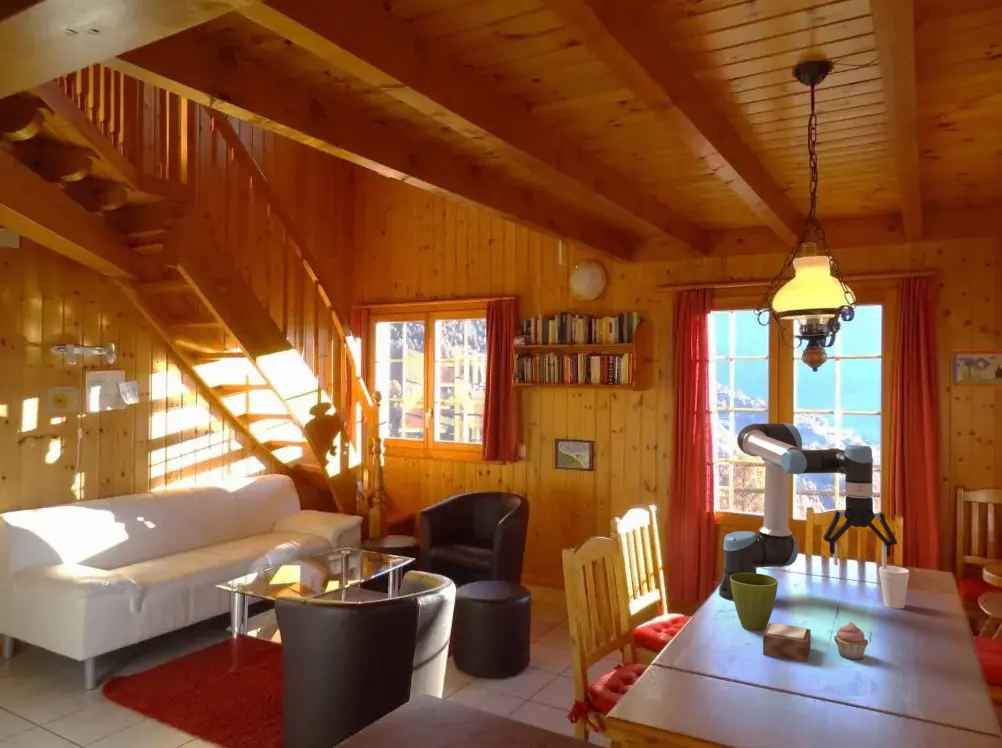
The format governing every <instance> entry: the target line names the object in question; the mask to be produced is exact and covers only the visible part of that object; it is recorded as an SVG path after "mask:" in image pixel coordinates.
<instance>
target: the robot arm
mask: <svg viewBox="0 0 1002 748" xmlns="http://www.w3.org/2000/svg"><path fill="white" fill-rule="evenodd" d="M736 441H737V446H738V448H739V450H740V451H741V452H742V453H743V454H746V455H747V456H750V457H760V458H761V459H762V461H763V462H764V463H765V470H764V473H765V475H764V499H763V500H764V503H763V525H762V526H761V527H759V528H758V535H757V534H756V533H755V532H753V531H748V530H745V531H743V530H741V531H740V530H739V531H732V532H729V533H728V534H726V535H725V536H724V539H723V575H722V579H721V581H720V584H719V587H718V595H719V596H720V597H721V598H723V599H727V600H730V601H734V599H733V594H732V589H731V582H730V576H731V575H733V574H737V573H757V568H774V567H775V568H776V567H777V568H782V567H783V568H784V567H789V566H790V567H791V565H792V564H794V563H795V562H796V561H797V557H798V555H799V554H798V553H799V545H798V541H797V538H796V537H795V536H794V535H793V532H792V531H791V530H790V529H789V504H790V503H789V502H790V500H789V499H790V479H791V478H790V476H791V475H792V474H793V475H801V474H802V475H804V474H806V475H807V474H810V475H811V474H842V475H845V480H844V481H845V482H844V483H845V487H844V488H845V494H846V496H845V510H844V512H843V511H839V510H835V511H834V512H833V513H834V514H833V518H832V520H831V522H830V524H829V526H828V527H827V529H826V531H825V533H824V535H823V537H822V538H823V540H824V541H825V542H828V543H829V552H830V553H829V554H832V555H833V556H832V557H833V564H834V566H838V562H839V558H838V552H839V551H838V547H839V546H838V543H837V541H838V540H839V539H840V537H842V536H843V535H844V533H845V532H847V530H848V529H849V528H851V527H854V528H859V527H861V528H867V527H869V528H870V530H872V532H873V533H874V534H875V535H876V536H877V537H878V538H879V539H880V540H881V541H882V543H883V544H881V567H883V568H887V566H888V564H887V563H888V562H887V561H888V559H887V557H888V558H890V557H891V546H893V545H894V546H895V545H897V544H898V541H897V539H896V538H895V536H894V534H893V532H892V530H891V528H890V526H889V525H888V523H887V521H886V515H885V514H884V513H883V512H881V511H879V512H876V513H875V512H874V502H873V501H874V498H873V497H872V496H873V495H874V494H873V493H874V492H873V490H874V489H873V486H874V485H873V479H874V478H873V477H874V476H873V473H874V472H873V469H874V468H873V466H874V465H873V462H874V459H873V450H872V448H871V446H869V445H862V444H861V445H860V444H852V445H851V444H849V445H846V446H845V449H840V448H831V447H830V448H827V449H803V438H802V436H801V433H800V431H799V430H798V428H797V427H796V426H795V425H793V424H792V423H784V422H776V423H775V422H774V423H772V422H771V423H769V422H768V423H751V424H748V425H746V426H744V427H743V428H742V429H741V430H740V431H739V432H738V435H737V437H736ZM843 517H844V518H845V519H846V520H845V522H844V523H843V524H842V525H841V526H840V527H839V529H837V531H836V532H835V533H834V534H833V532H834V531H835V529H836V527H837V525H838V524H839V521H840V520H841V519H842V518H843ZM875 518H876V519H877V521H879V522H880V524H881V526H882V528H883V529H884V531H885V533H886V535H887V537H888V539H889V540H888V539H887V538H886V537H885V536H884V535H883V534H882V533H881V531H880V530H879V529H878V528H877V527H876V525H874V524H873V520H874V519H875ZM832 534H833V535H832Z"/></svg>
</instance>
